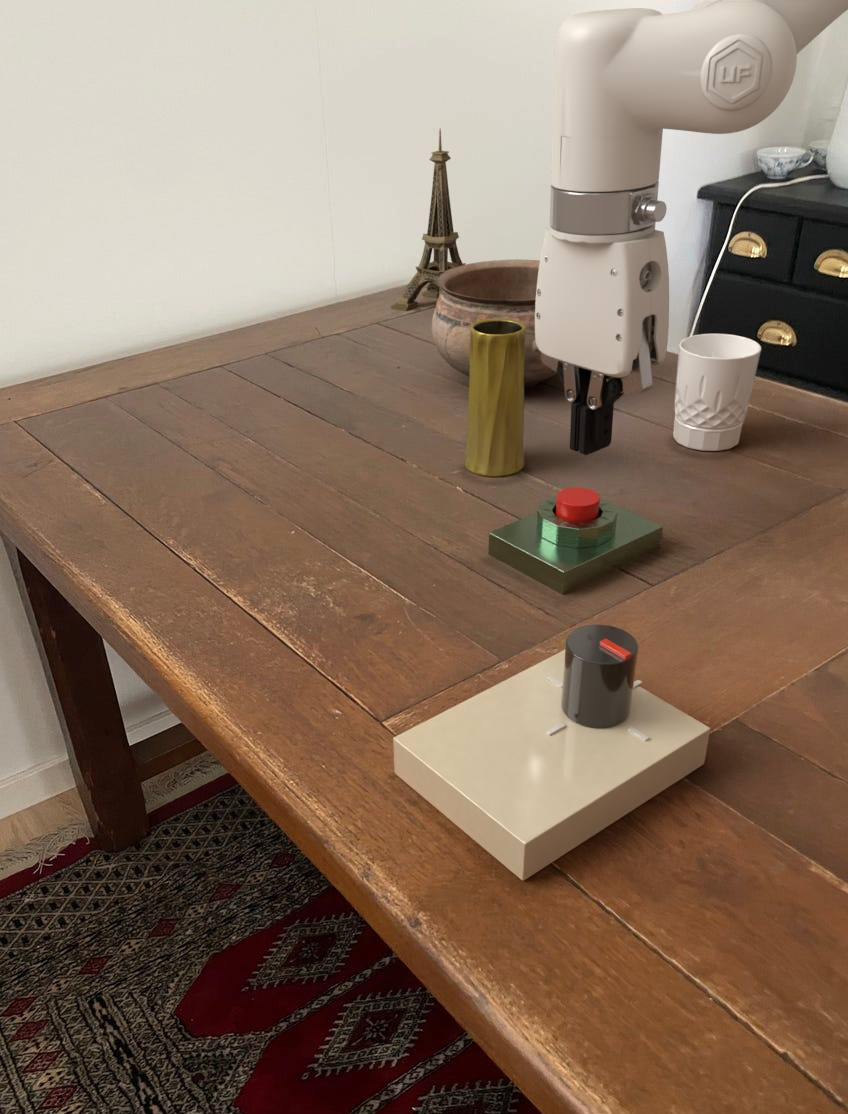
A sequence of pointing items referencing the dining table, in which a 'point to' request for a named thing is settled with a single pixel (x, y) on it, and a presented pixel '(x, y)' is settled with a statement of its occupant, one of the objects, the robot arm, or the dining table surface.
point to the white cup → (713, 389)
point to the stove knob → (598, 675)
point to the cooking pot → (487, 310)
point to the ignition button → (577, 504)
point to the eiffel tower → (434, 239)
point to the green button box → (574, 545)
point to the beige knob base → (544, 765)
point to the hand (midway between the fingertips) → (590, 447)
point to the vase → (496, 398)
